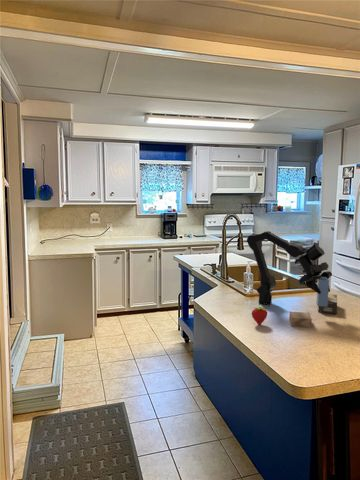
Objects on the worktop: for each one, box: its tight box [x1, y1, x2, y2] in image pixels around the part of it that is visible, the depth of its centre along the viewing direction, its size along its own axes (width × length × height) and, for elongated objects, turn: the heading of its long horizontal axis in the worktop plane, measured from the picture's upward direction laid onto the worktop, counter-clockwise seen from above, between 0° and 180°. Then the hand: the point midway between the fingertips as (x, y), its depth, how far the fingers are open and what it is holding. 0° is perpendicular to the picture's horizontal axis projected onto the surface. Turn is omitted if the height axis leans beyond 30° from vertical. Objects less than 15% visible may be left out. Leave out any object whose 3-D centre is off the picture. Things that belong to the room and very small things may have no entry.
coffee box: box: [317, 293, 338, 315], centre depth 195 cm, size 9×6×16 cm
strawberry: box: [251, 306, 268, 326], centre depth 171 cm, size 6×8×10 cm
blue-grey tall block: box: [315, 277, 330, 307], centre depth 179 cm, size 4×4×14 cm
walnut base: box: [289, 311, 312, 328], centre depth 174 cm, size 9×9×4 cm
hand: (324, 292), depth 178 cm, fingers closed on blue-grey tall block, 6 cm apart
